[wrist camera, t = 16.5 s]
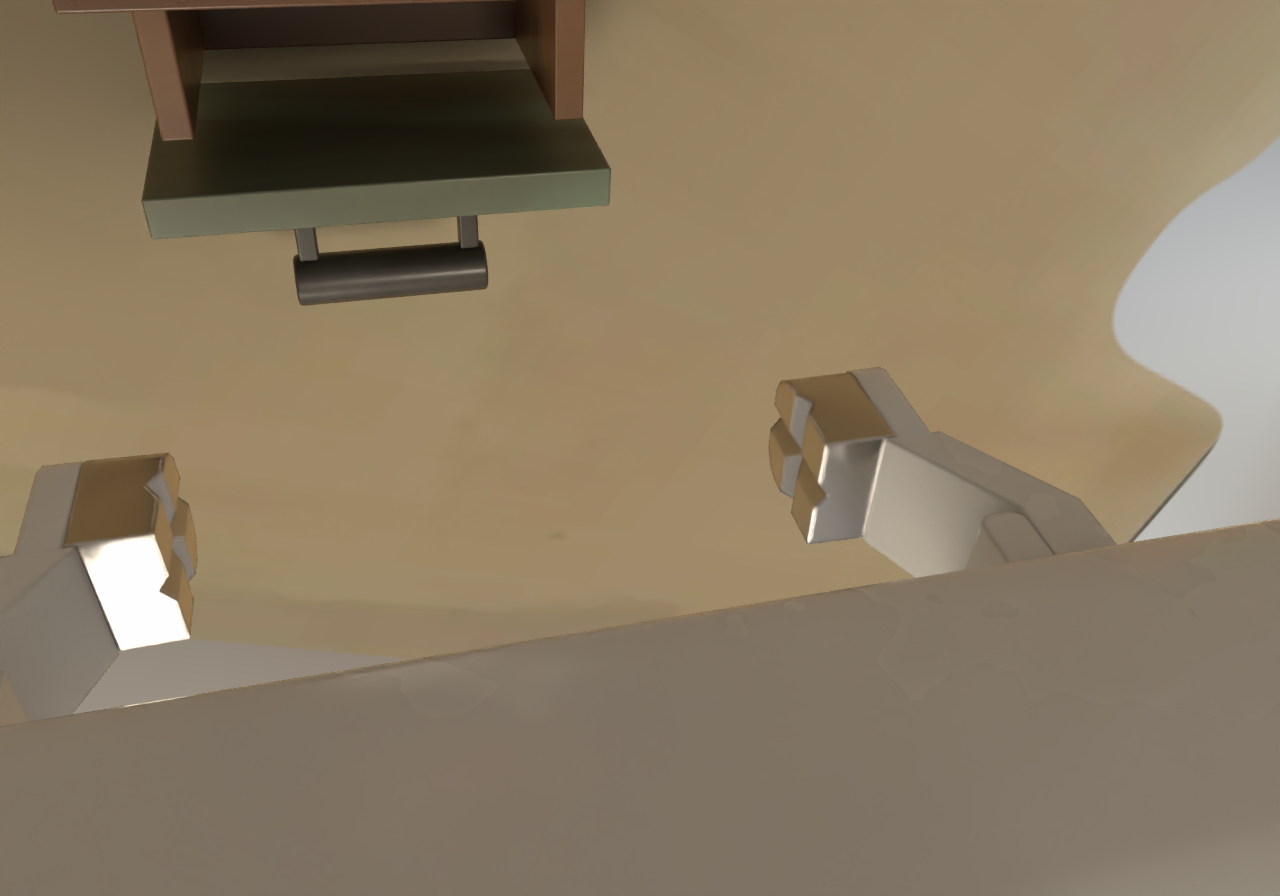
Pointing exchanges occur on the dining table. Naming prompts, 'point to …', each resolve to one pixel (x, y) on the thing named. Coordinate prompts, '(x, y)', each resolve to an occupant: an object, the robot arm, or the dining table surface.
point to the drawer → (368, 137)
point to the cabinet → (211, 4)
